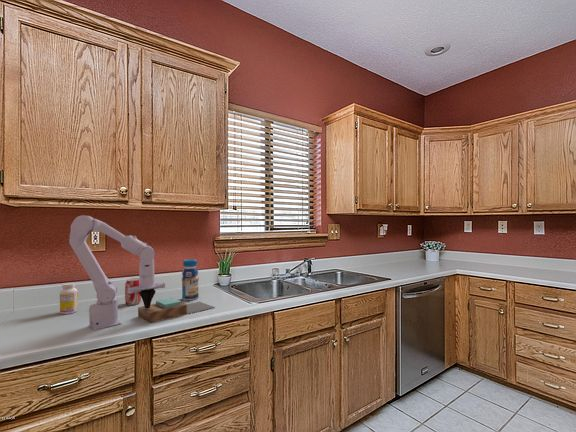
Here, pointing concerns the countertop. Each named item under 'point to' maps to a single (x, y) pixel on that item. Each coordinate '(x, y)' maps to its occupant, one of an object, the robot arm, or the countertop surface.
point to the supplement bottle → (68, 299)
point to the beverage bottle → (190, 280)
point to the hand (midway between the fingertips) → (147, 307)
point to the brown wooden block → (161, 312)
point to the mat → (197, 307)
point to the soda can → (133, 297)
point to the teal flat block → (168, 303)
